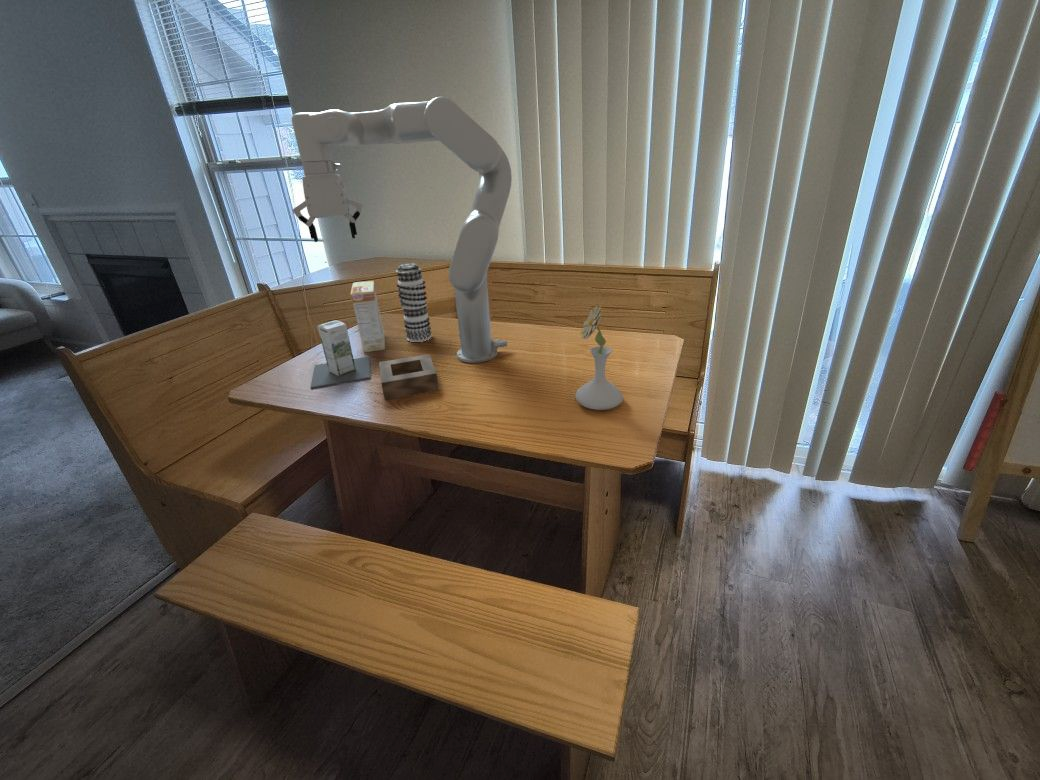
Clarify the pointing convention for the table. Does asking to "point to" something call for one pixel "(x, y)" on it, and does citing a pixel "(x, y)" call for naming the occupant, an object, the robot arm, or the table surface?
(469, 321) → the robot arm
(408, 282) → the black and white tower
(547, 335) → the table surface
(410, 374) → the walnut pocket holder
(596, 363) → the flower in vase
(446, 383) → the table surface
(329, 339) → the syrup box
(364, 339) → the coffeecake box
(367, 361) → the charcoal mat
